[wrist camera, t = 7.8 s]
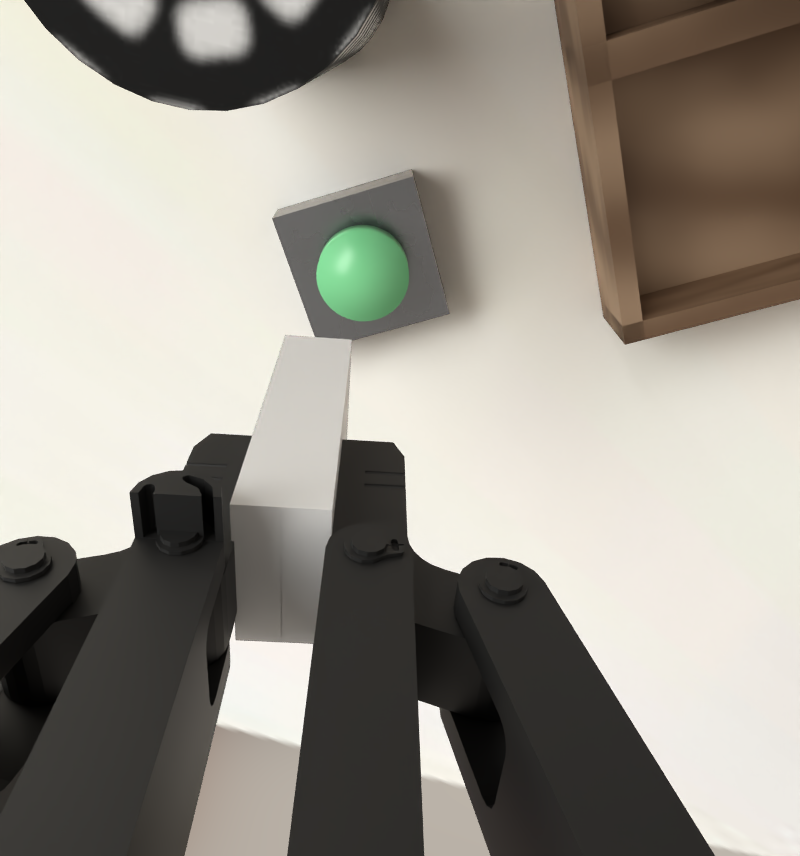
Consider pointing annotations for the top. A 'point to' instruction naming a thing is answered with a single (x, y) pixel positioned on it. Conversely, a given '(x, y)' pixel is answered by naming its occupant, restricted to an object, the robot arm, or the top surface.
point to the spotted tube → (211, 44)
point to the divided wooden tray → (687, 155)
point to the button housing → (376, 206)
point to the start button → (362, 273)
